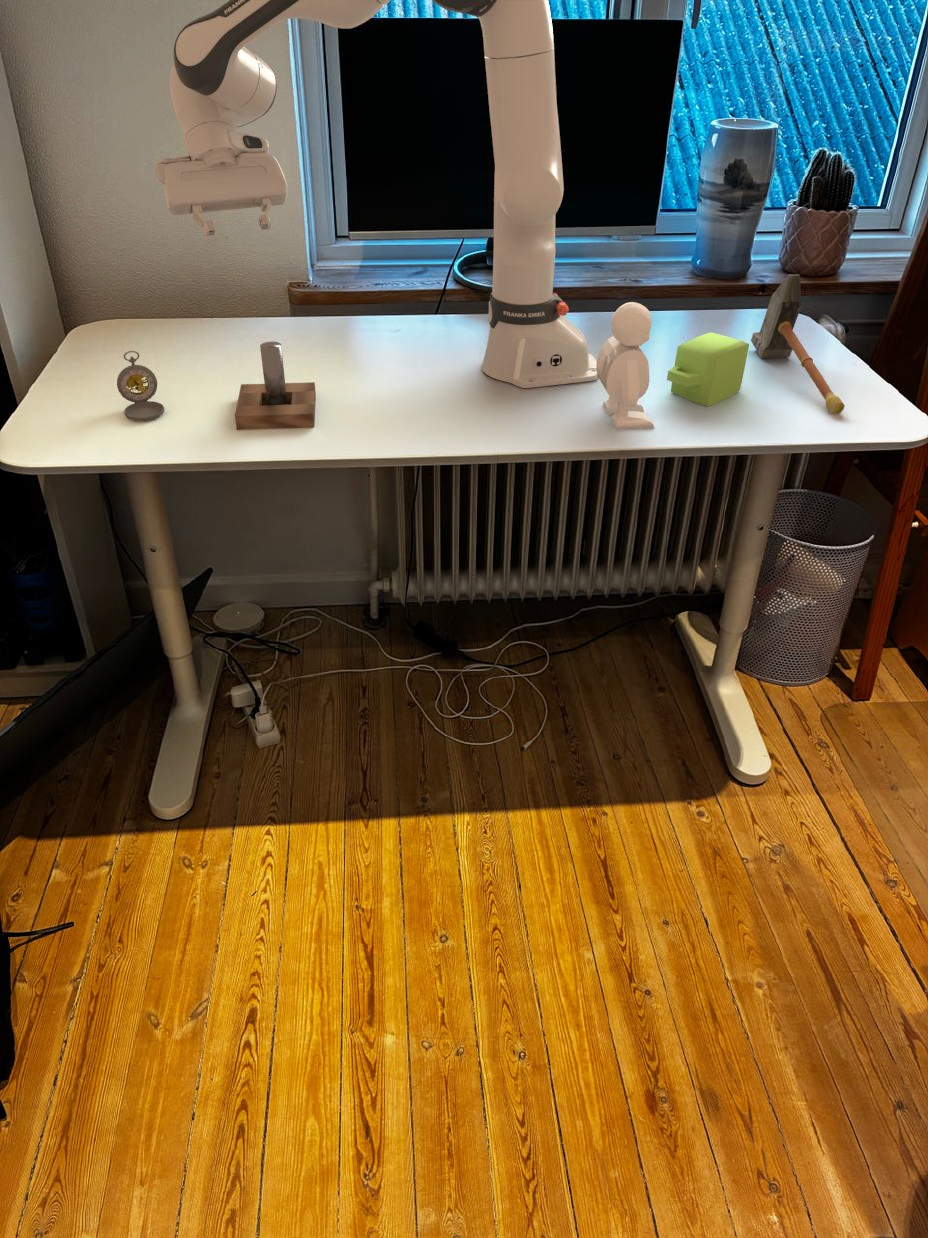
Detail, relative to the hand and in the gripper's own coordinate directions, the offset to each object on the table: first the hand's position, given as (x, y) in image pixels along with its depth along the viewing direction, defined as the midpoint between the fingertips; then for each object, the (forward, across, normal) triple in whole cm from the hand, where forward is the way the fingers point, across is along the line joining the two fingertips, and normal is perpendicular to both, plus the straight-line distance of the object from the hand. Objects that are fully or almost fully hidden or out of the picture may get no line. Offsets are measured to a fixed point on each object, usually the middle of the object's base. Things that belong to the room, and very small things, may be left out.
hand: (238, 230), depth 159 cm
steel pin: (+28, 0, +11) cm, 30 cm away
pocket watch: (+22, -21, +18) cm, 35 cm away
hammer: (+47, +94, -8) cm, 105 cm away
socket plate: (+28, 0, +11) cm, 30 cm away
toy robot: (+47, +54, -8) cm, 72 cm away
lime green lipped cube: (+44, +75, -5) cm, 87 cm away
